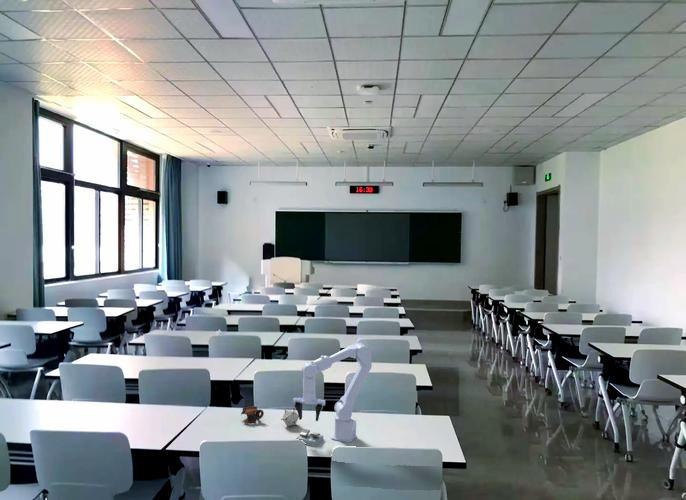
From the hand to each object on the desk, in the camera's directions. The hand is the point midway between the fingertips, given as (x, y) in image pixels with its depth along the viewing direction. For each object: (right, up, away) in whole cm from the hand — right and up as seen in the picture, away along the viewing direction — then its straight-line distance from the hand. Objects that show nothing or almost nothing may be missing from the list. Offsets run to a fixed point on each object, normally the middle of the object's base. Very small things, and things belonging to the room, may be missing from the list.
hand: (308, 419), depth 217 cm
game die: (-10, -9, +16) cm, 21 cm away
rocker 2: (+3, -7, -2) cm, 7 cm away
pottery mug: (-30, -8, +21) cm, 37 cm away
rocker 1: (-2, -6, 0) cm, 7 cm away
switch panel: (+1, -10, 0) cm, 10 cm away
